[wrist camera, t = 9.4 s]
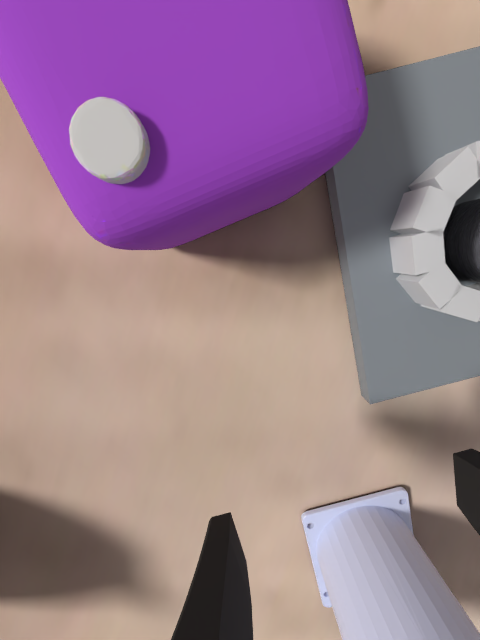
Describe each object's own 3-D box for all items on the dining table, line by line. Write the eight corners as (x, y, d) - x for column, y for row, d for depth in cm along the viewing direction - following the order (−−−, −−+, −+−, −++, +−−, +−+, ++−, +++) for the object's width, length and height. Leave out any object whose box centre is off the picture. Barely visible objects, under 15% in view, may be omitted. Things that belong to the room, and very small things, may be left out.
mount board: (559, 343, 20) (628, 362, 17) (361, 395, 20) (390, 425, 17) (565, 34, 16) (659, -25, 12) (313, 99, 16) (338, 57, 12)
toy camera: (189, -103, 14) (112, -976, 4) (330, 171, 17) (482, 63, 7) (7, 41, 14) (-433, -387, 5) (174, 277, 18) (116, 311, 8)
